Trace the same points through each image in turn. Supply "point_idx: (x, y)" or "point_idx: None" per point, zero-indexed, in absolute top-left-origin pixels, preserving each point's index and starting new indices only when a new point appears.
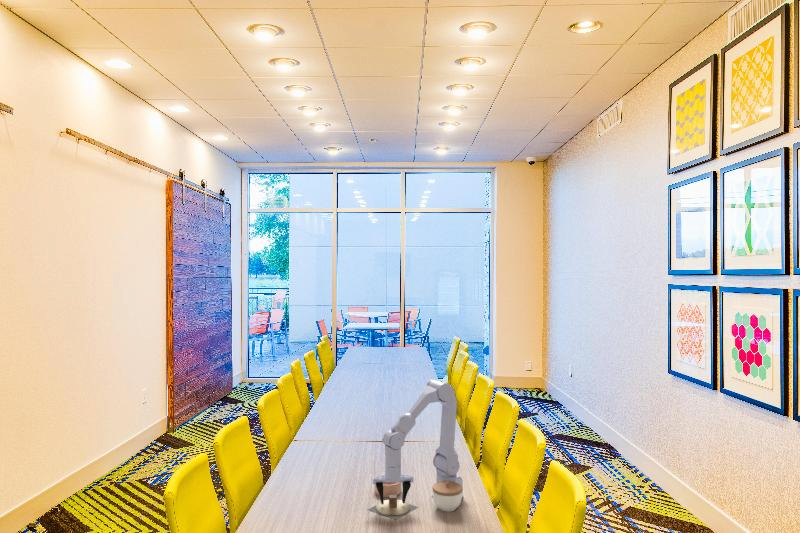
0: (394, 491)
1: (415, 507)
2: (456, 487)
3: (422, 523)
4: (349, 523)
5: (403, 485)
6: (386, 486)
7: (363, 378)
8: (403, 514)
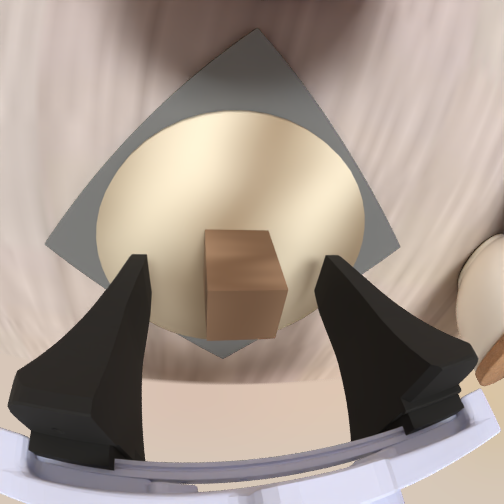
0: None
1: (385, 249)
2: None
3: (329, 367)
4: (15, 343)
5: (370, 414)
6: None
7: None
8: None
